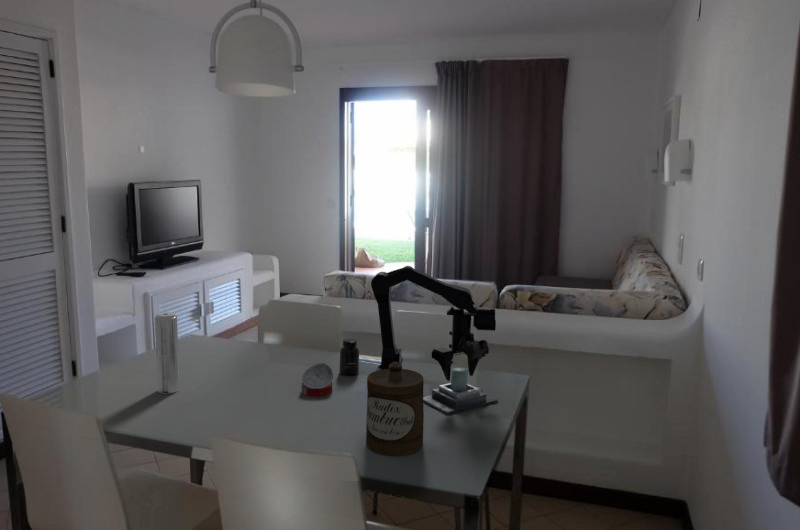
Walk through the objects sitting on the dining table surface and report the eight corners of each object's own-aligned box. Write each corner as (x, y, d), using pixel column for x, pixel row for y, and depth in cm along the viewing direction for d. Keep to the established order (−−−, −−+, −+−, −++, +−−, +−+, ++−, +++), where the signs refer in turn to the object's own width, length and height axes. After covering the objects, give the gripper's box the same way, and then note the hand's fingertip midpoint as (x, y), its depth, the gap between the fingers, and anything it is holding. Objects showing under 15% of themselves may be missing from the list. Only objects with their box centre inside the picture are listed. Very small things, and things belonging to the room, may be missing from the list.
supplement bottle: (349, 377, 211) (350, 344, 209) (335, 373, 215) (335, 340, 213) (362, 372, 216) (363, 340, 214) (348, 368, 220) (348, 336, 218)
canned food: (333, 404, 198) (345, 381, 195) (308, 409, 191) (320, 385, 187) (314, 381, 205) (325, 358, 201) (290, 385, 197) (301, 361, 194)
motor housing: (447, 414, 179) (448, 400, 179) (419, 400, 191) (419, 386, 190) (497, 402, 191) (498, 388, 190) (468, 388, 202) (469, 375, 201)
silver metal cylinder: (183, 389, 196) (181, 313, 192) (168, 395, 190) (165, 317, 187) (168, 385, 199) (165, 310, 195) (152, 392, 193) (149, 314, 189)
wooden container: (356, 450, 155) (357, 366, 152) (379, 428, 169) (380, 351, 166) (411, 460, 150) (413, 374, 147) (430, 437, 164) (432, 358, 161)
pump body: (457, 395, 187) (458, 373, 186) (447, 390, 191) (448, 369, 190) (470, 392, 190) (471, 370, 189) (459, 388, 194) (460, 366, 193)
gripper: (454, 339, 176) (452, 391, 178) (502, 331, 186) (499, 380, 188) (431, 330, 185) (429, 380, 187) (477, 323, 195) (475, 370, 197)
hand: (459, 378), depth 190 cm, fingers open, 9 cm apart
